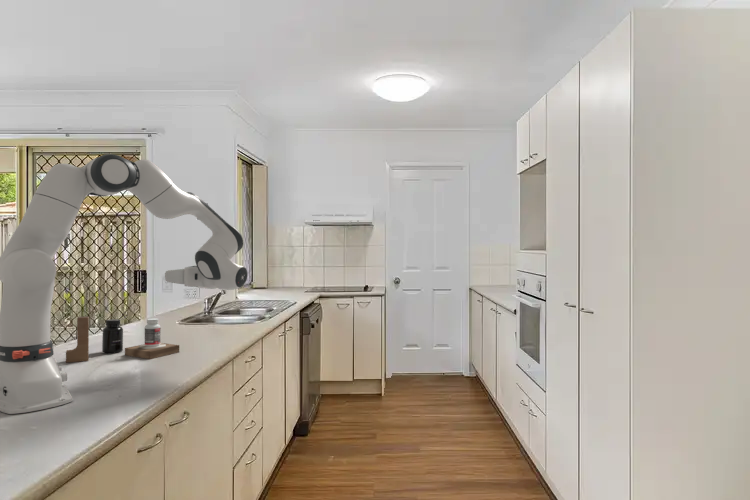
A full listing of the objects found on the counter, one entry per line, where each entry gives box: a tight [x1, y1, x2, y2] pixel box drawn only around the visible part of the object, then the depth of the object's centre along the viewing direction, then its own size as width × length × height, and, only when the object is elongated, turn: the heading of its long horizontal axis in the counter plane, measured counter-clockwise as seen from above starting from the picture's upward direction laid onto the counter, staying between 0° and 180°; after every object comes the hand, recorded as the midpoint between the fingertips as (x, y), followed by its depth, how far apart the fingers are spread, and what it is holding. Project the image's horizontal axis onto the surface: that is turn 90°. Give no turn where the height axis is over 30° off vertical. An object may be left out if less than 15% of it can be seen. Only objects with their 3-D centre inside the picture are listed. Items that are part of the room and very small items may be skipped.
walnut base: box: [124, 342, 180, 360], centre depth 185 cm, size 13×13×3 cm
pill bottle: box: [144, 317, 162, 347], centre depth 185 cm, size 5×5×10 cm
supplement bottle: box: [101, 318, 124, 355], centre depth 187 cm, size 7×7×12 cm
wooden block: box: [65, 315, 90, 364], centre depth 173 cm, size 7×3×15 cm, turn 118°
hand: (177, 274), depth 180 cm, fingers open, 8 cm apart
